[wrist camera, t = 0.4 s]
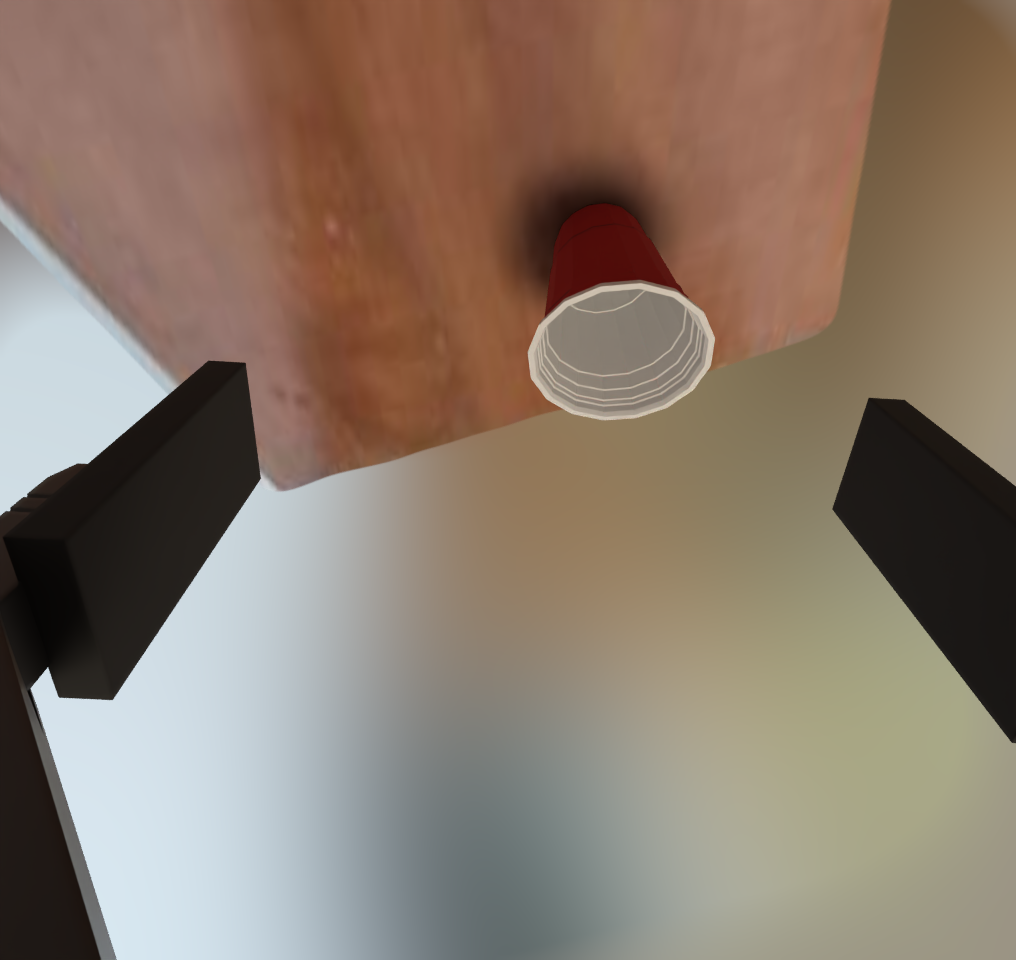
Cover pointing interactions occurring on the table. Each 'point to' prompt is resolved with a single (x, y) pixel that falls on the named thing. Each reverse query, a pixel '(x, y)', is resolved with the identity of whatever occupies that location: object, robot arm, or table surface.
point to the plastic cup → (616, 323)
